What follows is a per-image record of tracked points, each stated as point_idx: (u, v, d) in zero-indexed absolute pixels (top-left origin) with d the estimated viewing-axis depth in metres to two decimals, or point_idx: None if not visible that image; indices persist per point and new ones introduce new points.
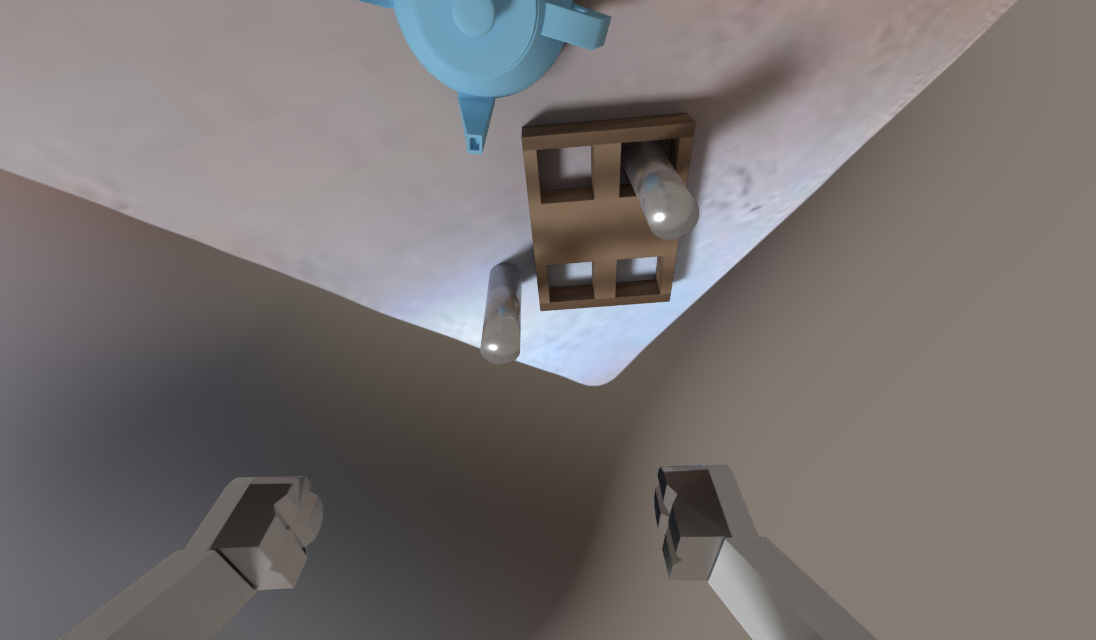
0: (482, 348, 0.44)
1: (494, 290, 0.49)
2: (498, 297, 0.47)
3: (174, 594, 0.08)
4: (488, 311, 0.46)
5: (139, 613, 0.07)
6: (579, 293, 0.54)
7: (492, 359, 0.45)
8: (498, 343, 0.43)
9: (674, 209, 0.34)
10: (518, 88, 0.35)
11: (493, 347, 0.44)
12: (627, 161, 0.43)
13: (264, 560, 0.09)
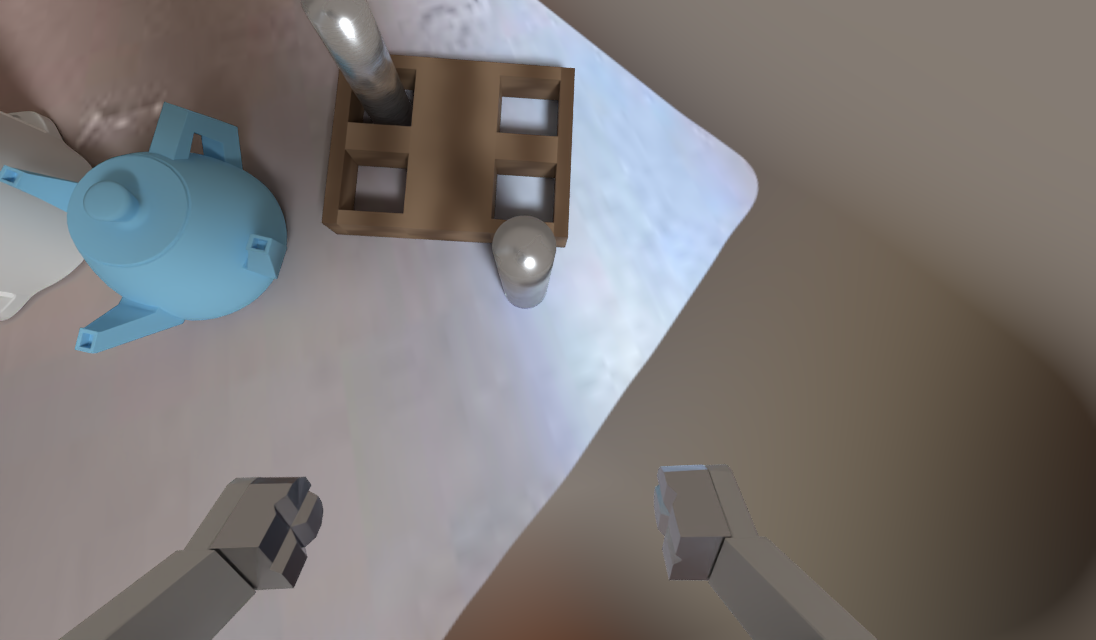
0: (514, 273, 0.27)
1: None
2: None
3: (174, 594, 0.08)
4: (502, 279, 0.31)
5: (139, 613, 0.07)
6: None
7: (542, 262, 0.27)
8: (507, 245, 0.27)
9: None
10: (246, 204, 0.34)
11: (515, 255, 0.27)
12: (377, 120, 0.39)
13: (264, 560, 0.09)
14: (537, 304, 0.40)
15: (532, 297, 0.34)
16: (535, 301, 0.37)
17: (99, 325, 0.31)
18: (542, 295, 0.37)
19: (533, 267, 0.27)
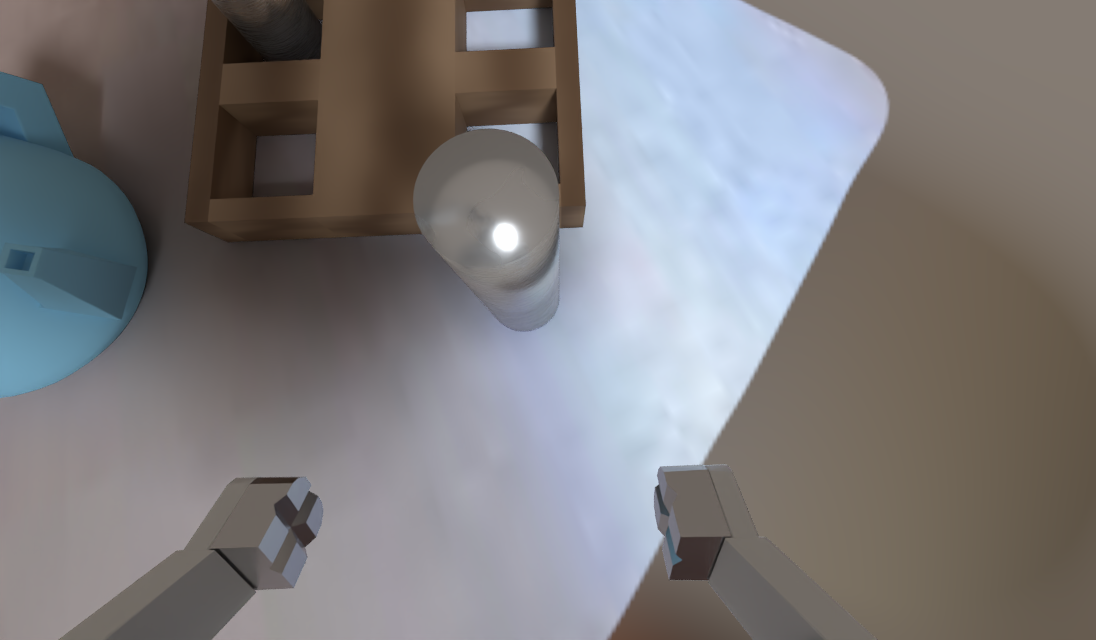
0: (468, 258, 0.12)
1: None
2: None
3: (174, 594, 0.08)
4: (464, 282, 0.16)
5: (139, 613, 0.07)
6: None
7: (530, 228, 0.12)
8: (448, 199, 0.12)
9: None
10: (42, 200, 0.20)
11: (466, 218, 0.12)
12: (272, 60, 0.25)
13: (265, 560, 0.09)
14: (546, 322, 0.24)
15: (531, 312, 0.19)
16: (540, 318, 0.22)
17: None
18: (550, 307, 0.21)
19: (510, 241, 0.12)
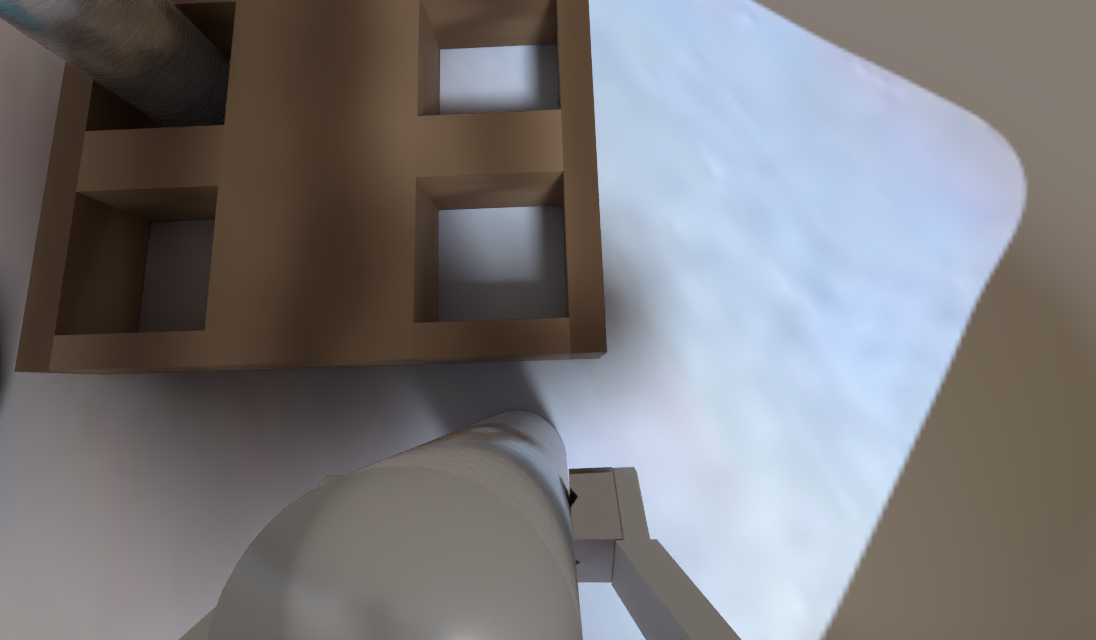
0: None
1: None
2: None
3: None
4: None
5: None
6: None
7: None
8: None
9: None
10: None
11: None
12: (163, 122, 0.18)
13: None
14: None
15: None
16: None
17: None
18: None
19: None
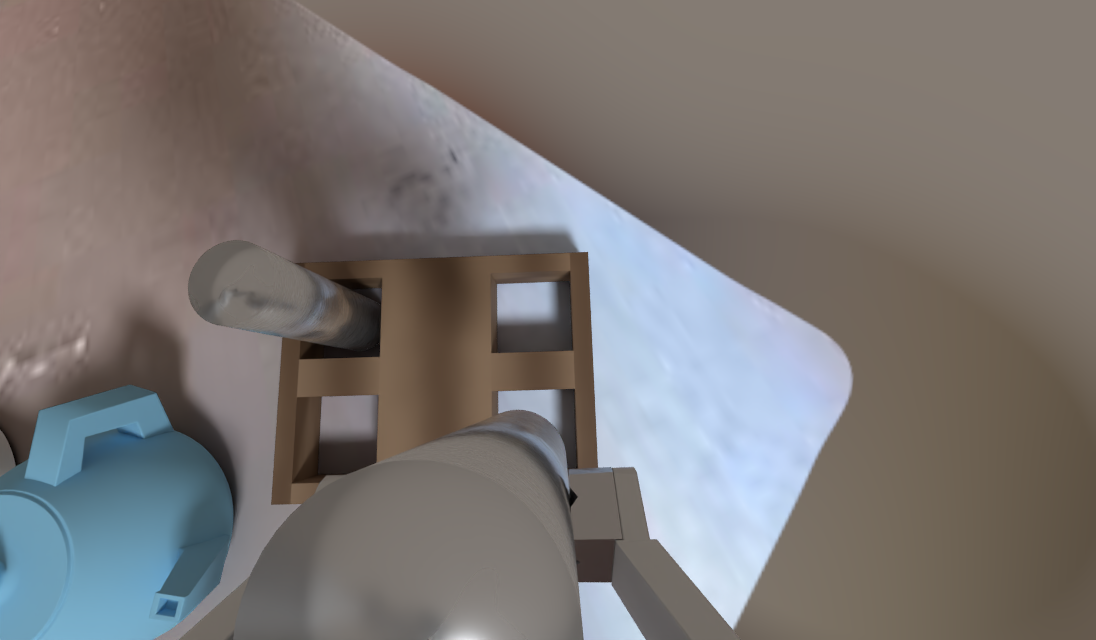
0: None
1: None
2: None
3: None
4: None
5: None
6: (575, 414, 0.29)
7: None
8: None
9: (216, 283, 0.20)
10: (165, 512, 0.25)
11: None
12: None
13: None
14: None
15: None
16: None
17: None
18: None
19: None
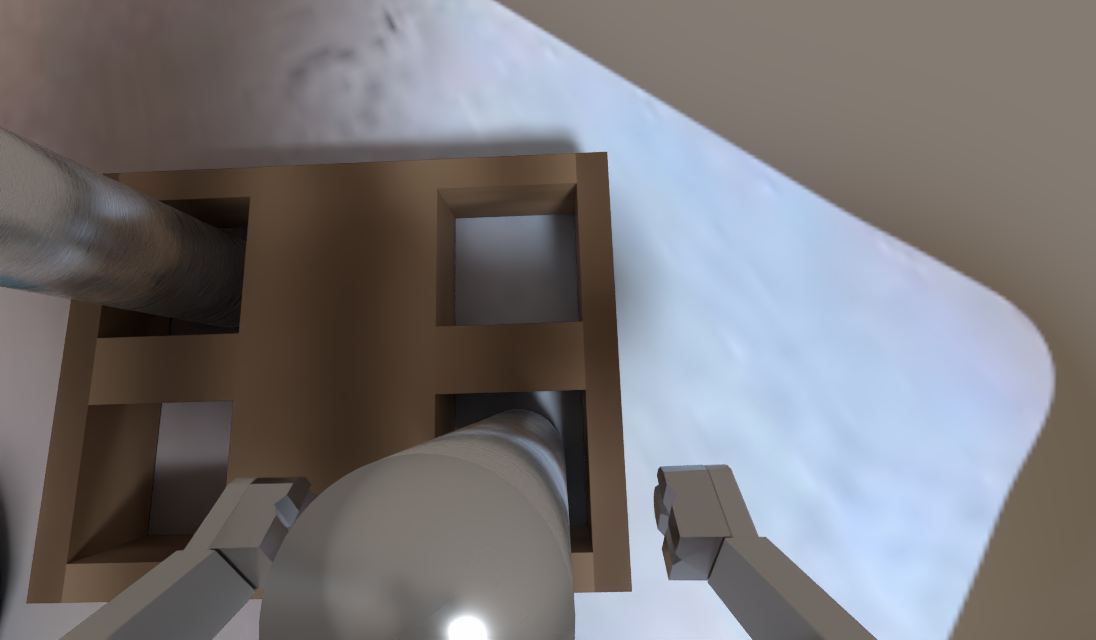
0: None
1: None
2: None
3: (175, 594, 0.08)
4: None
5: (140, 613, 0.07)
6: (585, 435, 0.17)
7: None
8: (335, 622, 0.05)
9: None
10: None
11: None
12: None
13: (264, 560, 0.09)
14: None
15: None
16: None
17: None
18: None
19: None
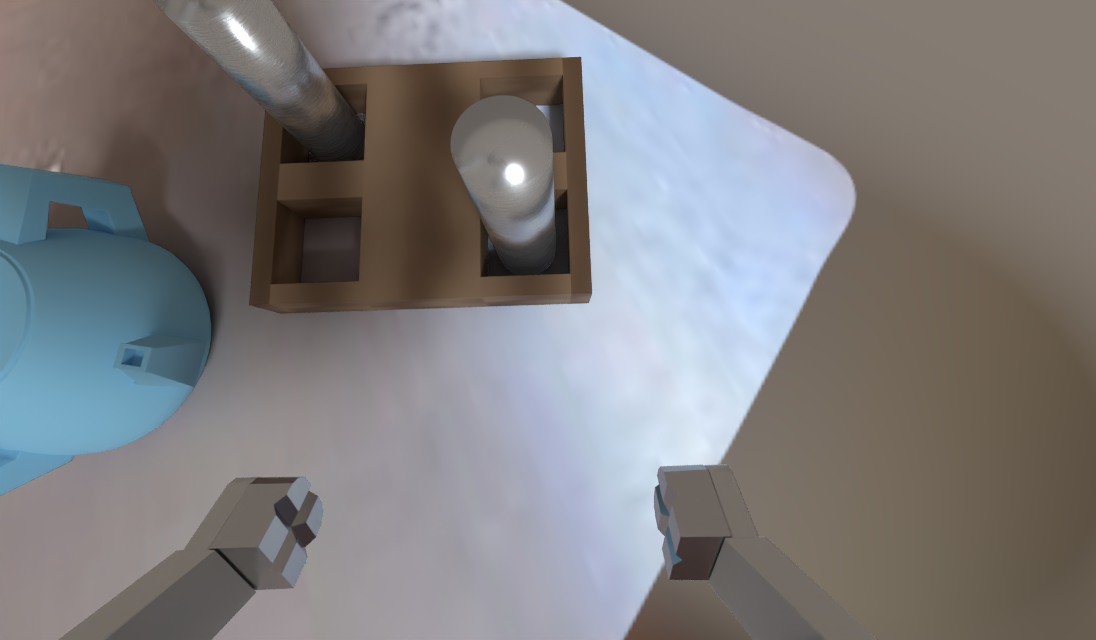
0: (489, 183, 0.17)
1: (488, 233, 0.25)
2: None
3: (174, 594, 0.08)
4: (482, 217, 0.21)
5: (139, 613, 0.07)
6: None
7: (532, 163, 0.17)
8: (475, 143, 0.17)
9: None
10: (135, 293, 0.24)
11: (488, 156, 0.17)
12: (321, 157, 0.29)
13: (265, 560, 0.09)
14: (544, 268, 0.29)
15: (532, 248, 0.24)
16: (539, 260, 0.27)
17: None
18: (548, 250, 0.26)
19: (518, 172, 0.17)
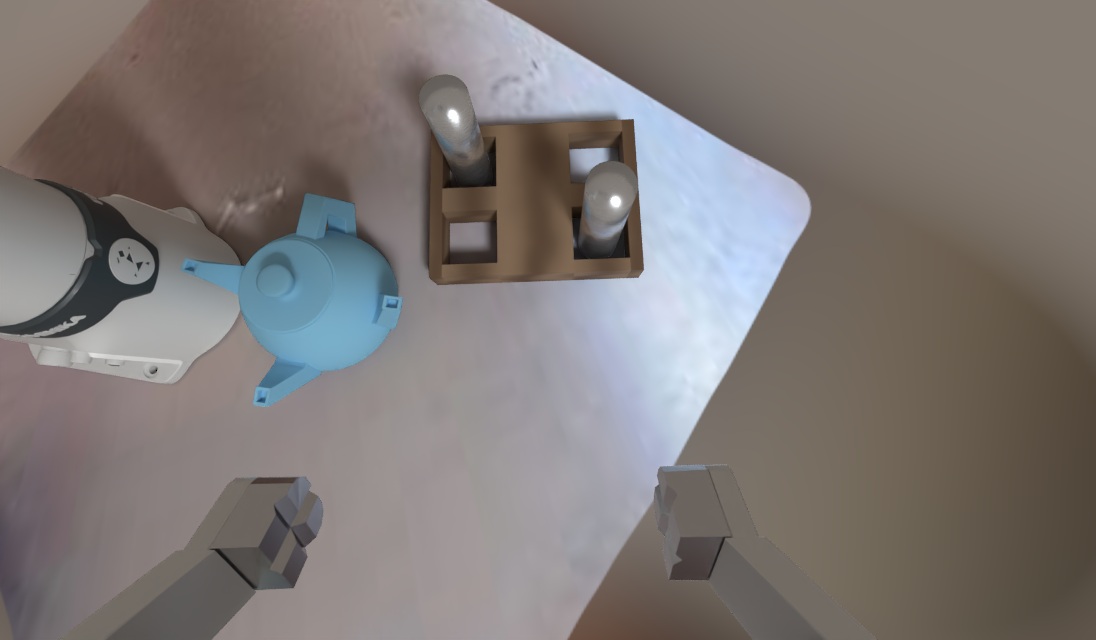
0: (606, 207, 0.33)
1: (582, 233, 0.41)
2: (581, 221, 0.39)
3: (174, 594, 0.08)
4: (588, 223, 0.37)
5: (139, 613, 0.07)
6: (625, 226, 0.44)
7: (628, 196, 0.33)
8: (598, 186, 0.33)
9: (434, 97, 0.34)
10: (371, 269, 0.40)
11: (605, 193, 0.33)
12: (465, 183, 0.45)
13: (265, 560, 0.09)
14: (609, 255, 0.45)
15: (610, 242, 0.40)
16: (610, 249, 0.43)
17: (268, 382, 0.37)
18: (616, 243, 0.42)
19: (621, 201, 0.33)
